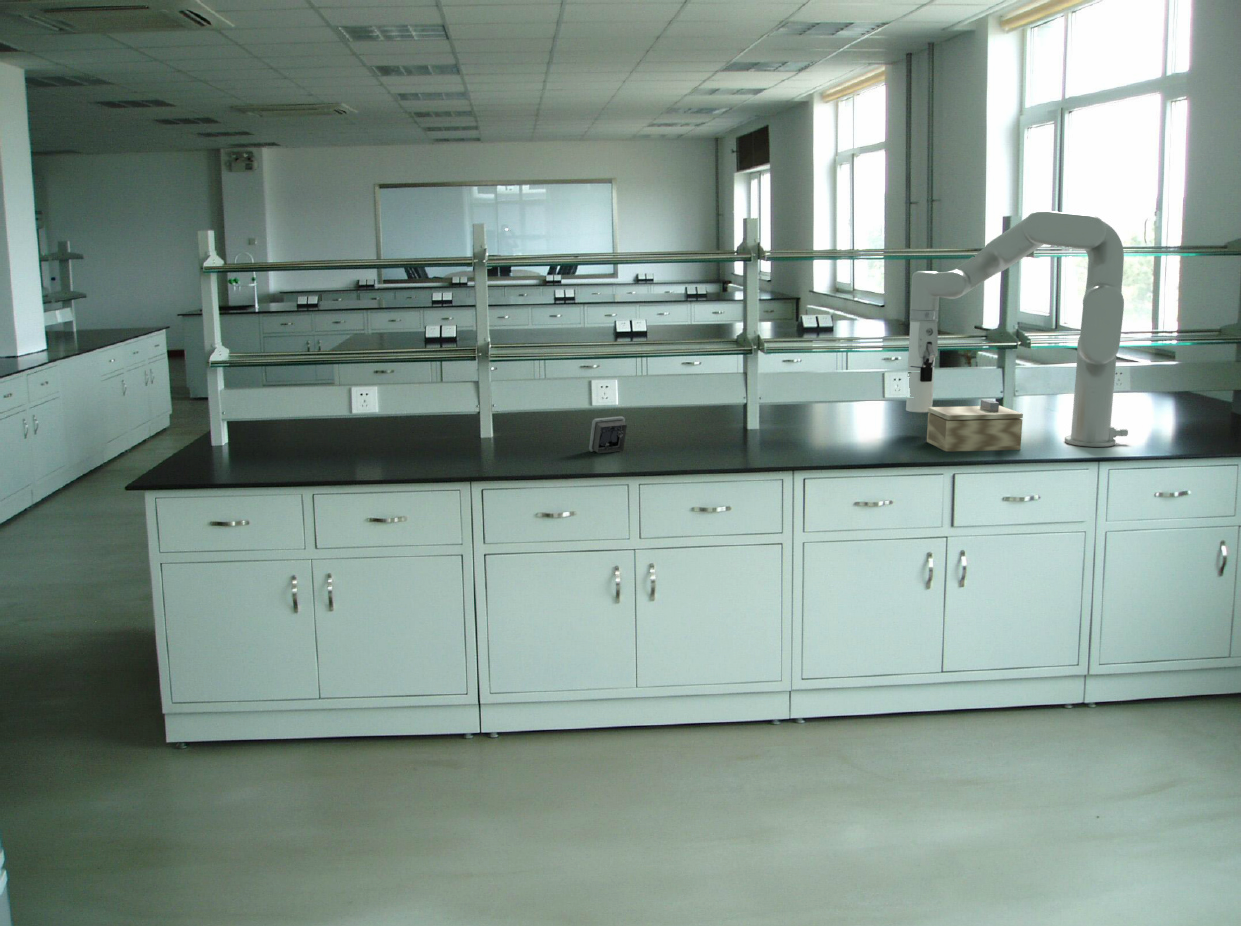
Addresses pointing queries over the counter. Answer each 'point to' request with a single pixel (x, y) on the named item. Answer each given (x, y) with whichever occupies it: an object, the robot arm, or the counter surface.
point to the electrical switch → (608, 434)
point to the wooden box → (974, 434)
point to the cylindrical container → (918, 376)
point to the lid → (976, 411)
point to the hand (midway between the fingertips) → (920, 379)
